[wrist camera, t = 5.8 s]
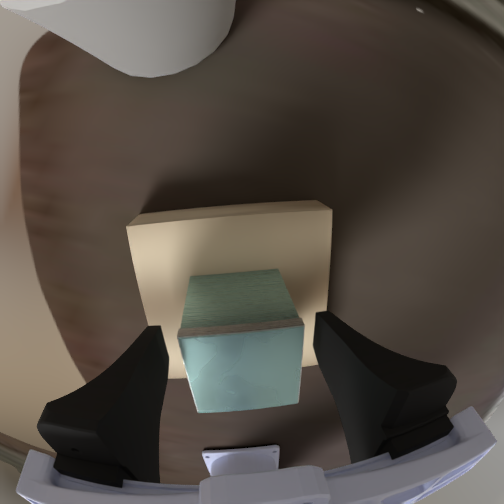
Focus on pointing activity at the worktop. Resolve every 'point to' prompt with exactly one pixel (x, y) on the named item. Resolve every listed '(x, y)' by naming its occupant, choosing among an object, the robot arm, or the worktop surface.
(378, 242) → the worktop surface
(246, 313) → the tin
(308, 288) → the beige square slab
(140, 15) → the can
